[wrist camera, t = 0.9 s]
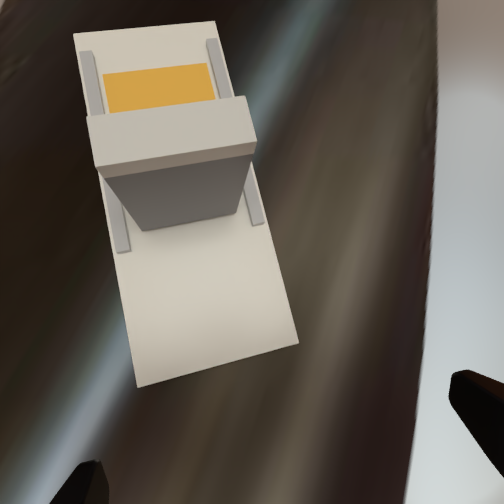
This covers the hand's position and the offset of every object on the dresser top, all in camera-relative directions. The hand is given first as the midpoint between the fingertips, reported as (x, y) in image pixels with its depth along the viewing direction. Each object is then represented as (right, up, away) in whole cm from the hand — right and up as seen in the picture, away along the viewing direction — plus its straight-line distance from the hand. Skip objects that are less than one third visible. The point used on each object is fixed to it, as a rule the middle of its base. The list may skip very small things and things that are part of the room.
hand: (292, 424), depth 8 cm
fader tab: (-5, +7, +13) cm, 16 cm away
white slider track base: (-6, +8, +16) cm, 19 cm away
